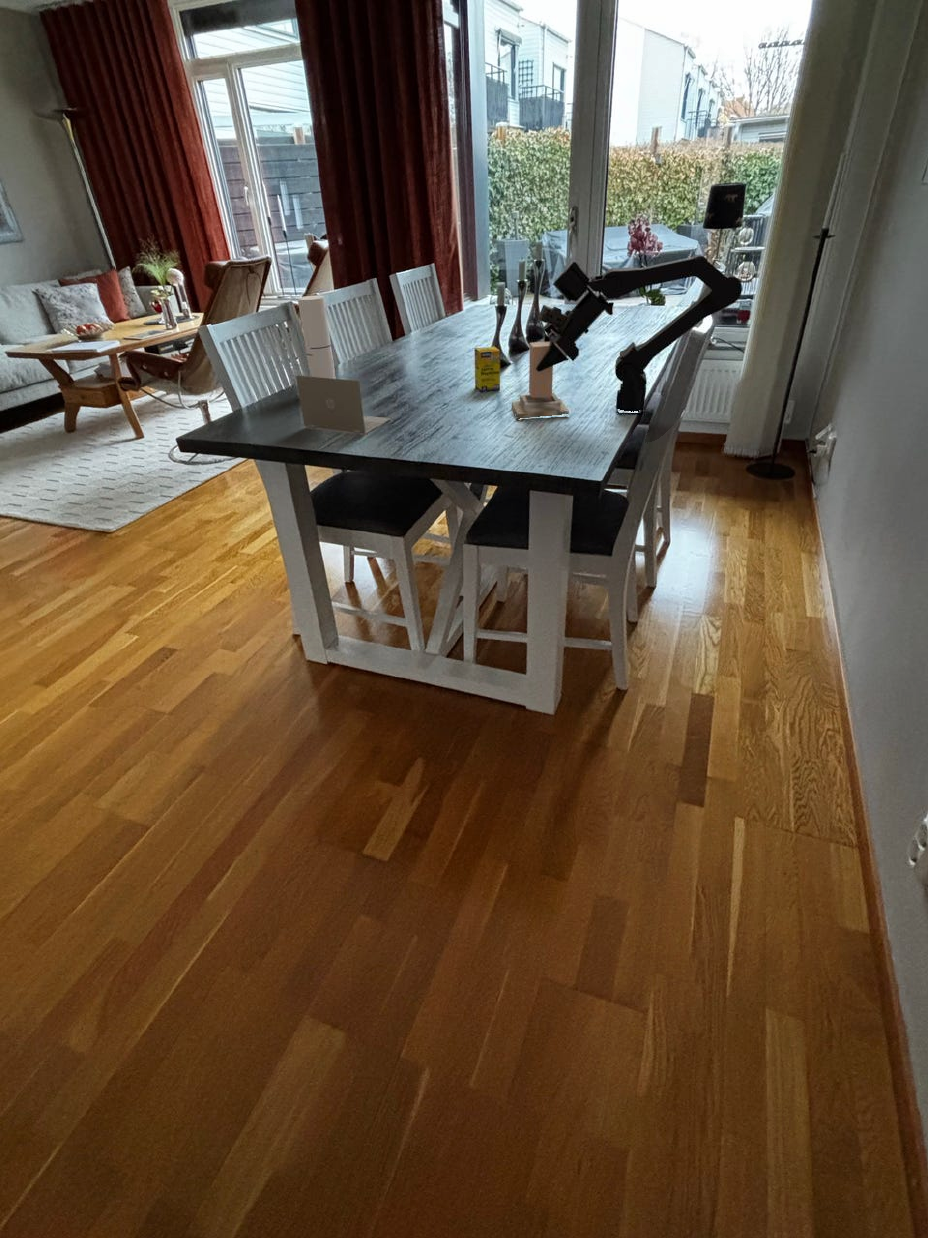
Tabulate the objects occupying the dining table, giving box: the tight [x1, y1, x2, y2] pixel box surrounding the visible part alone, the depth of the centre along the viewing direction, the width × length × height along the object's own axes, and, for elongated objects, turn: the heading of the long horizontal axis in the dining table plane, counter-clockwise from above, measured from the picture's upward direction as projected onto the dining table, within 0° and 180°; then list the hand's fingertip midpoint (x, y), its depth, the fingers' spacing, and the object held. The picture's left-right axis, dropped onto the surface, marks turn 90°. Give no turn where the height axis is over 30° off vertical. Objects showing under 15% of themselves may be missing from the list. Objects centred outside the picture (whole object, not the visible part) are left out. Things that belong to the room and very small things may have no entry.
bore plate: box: [511, 392, 570, 420], centre depth 163 cm, size 13×11×4 cm
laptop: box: [295, 375, 391, 436], centre depth 159 cm, size 18×12×13 cm
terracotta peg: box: [528, 341, 554, 398], centre depth 159 cm, size 5×5×12 cm
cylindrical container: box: [297, 295, 337, 379], centre depth 182 cm, size 7×7×25 cm
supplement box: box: [474, 345, 501, 393], centre depth 181 cm, size 6×6×11 cm
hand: (535, 367), depth 158 cm, fingers closed on terracotta peg, 5 cm apart
